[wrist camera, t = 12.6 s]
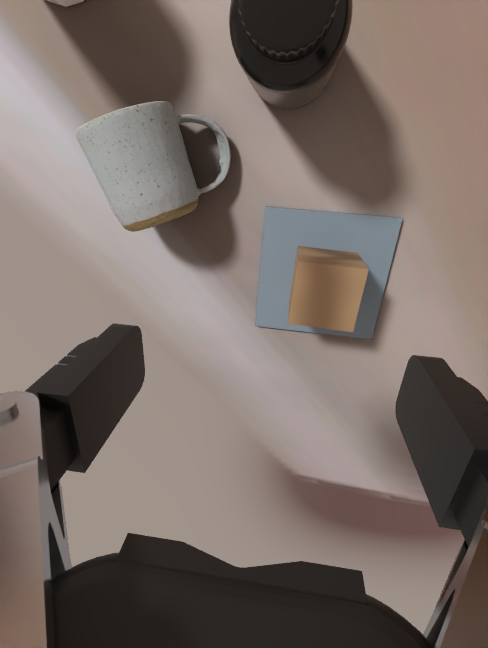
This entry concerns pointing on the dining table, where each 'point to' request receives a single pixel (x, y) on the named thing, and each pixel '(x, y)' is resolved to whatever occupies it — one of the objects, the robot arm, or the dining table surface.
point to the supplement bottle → (289, 45)
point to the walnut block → (326, 288)
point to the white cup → (65, 2)
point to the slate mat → (326, 233)
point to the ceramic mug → (147, 162)
